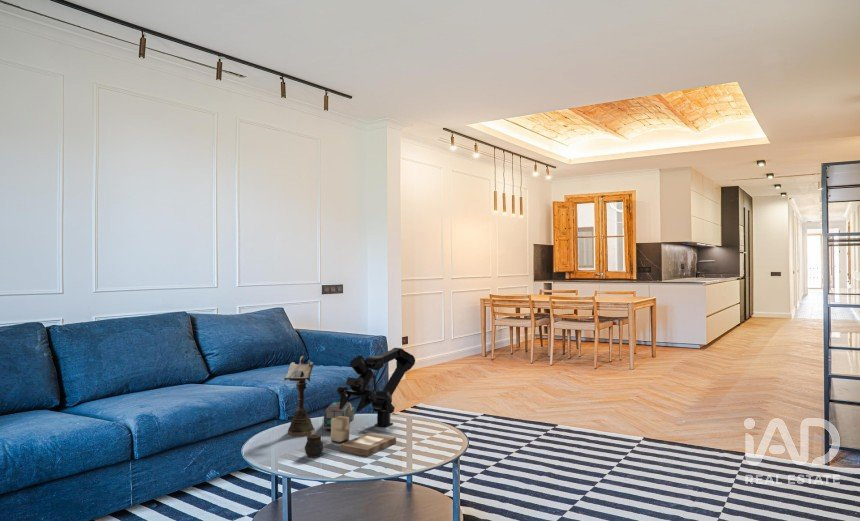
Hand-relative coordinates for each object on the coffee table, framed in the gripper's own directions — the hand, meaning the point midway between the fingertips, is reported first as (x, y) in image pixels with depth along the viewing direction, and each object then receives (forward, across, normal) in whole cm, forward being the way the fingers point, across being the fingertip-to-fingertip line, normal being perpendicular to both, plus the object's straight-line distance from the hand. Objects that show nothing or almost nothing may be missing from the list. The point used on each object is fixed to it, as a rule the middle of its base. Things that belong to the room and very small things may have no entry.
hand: (348, 410), depth 256 cm
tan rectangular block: (+12, 0, +5) cm, 13 cm away
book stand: (+13, -22, +5) cm, 26 cm away
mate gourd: (+27, +3, -9) cm, 29 cm away
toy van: (-2, -18, +20) cm, 27 cm away
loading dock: (+12, +15, +5) cm, 20 cm away
